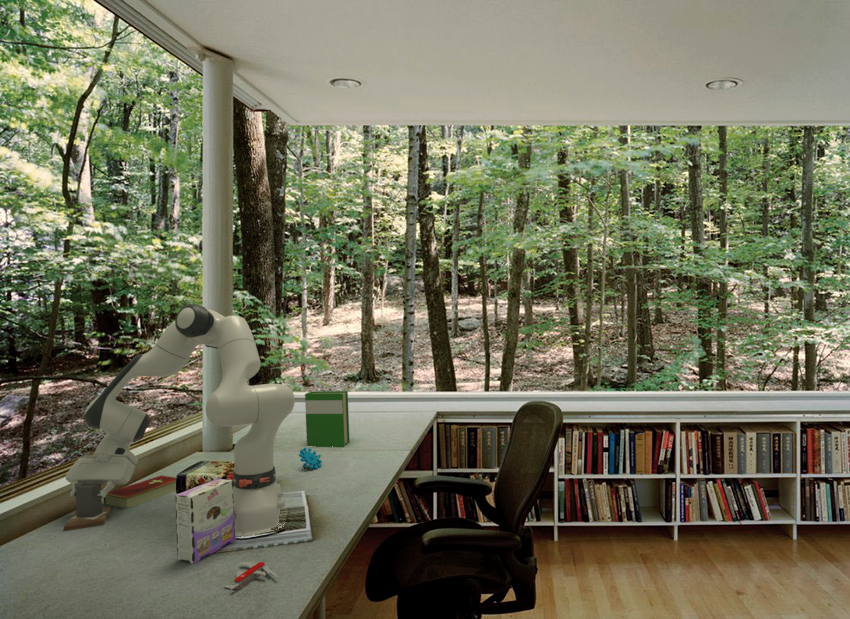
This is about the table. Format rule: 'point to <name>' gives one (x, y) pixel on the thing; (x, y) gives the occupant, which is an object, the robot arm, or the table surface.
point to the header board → (88, 520)
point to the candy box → (204, 520)
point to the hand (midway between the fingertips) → (87, 496)
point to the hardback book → (327, 418)
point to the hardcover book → (141, 492)
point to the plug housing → (88, 500)
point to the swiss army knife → (249, 574)
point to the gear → (310, 458)
